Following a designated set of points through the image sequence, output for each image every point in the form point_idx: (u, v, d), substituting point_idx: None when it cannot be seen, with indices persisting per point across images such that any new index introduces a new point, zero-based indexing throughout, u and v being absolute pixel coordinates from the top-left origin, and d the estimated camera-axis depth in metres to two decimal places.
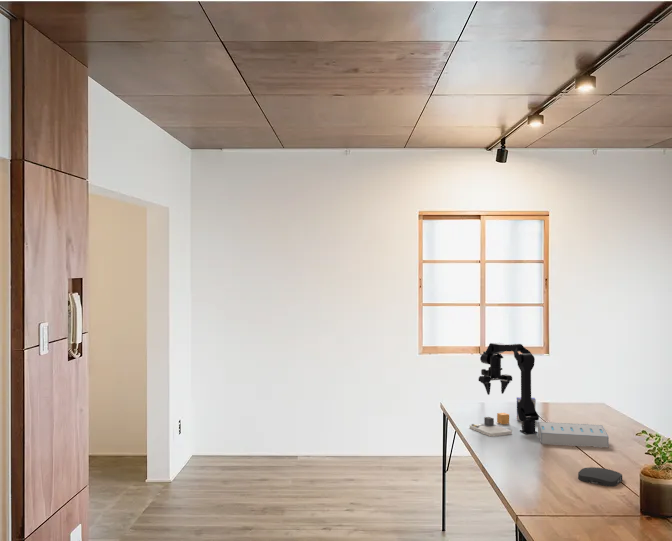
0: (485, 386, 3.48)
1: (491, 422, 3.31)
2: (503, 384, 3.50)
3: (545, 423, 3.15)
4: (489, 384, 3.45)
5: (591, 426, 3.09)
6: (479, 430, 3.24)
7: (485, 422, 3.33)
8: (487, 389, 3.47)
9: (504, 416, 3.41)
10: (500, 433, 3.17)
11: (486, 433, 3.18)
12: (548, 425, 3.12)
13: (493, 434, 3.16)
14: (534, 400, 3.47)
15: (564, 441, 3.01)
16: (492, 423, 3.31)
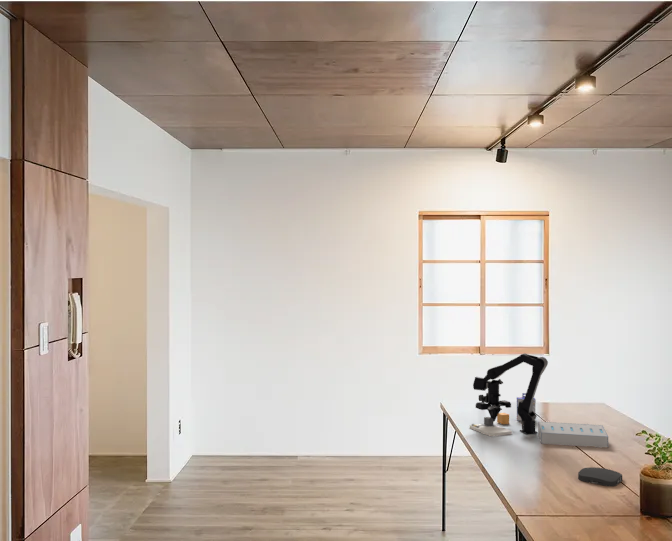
0: (489, 412, 3.34)
1: (491, 422, 3.31)
2: (495, 412, 3.33)
3: (545, 423, 3.15)
4: (494, 411, 3.31)
5: (591, 426, 3.09)
6: (479, 430, 3.24)
7: (485, 422, 3.33)
8: (491, 416, 3.33)
9: (504, 416, 3.41)
10: (500, 433, 3.17)
11: (486, 433, 3.18)
12: (548, 425, 3.12)
13: (493, 434, 3.16)
14: (534, 400, 3.47)
15: (564, 440, 3.01)
16: (492, 423, 3.31)
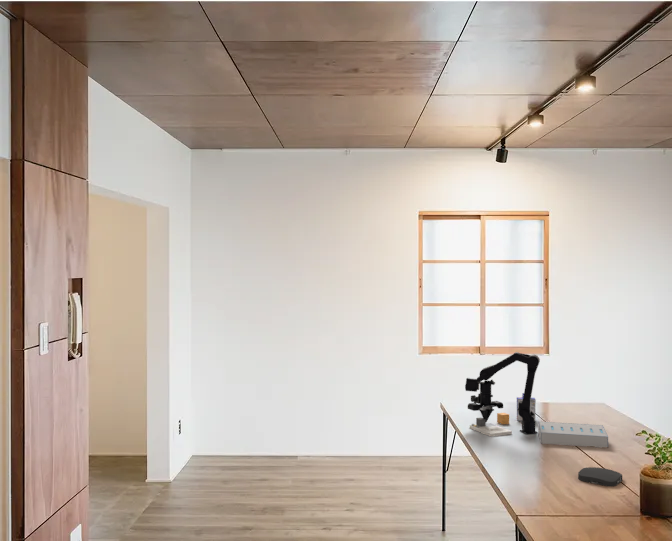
0: (482, 413, 3.32)
1: (483, 423, 3.29)
2: None
3: (545, 423, 3.15)
4: (486, 411, 3.29)
5: (591, 426, 3.09)
6: (479, 430, 3.24)
7: (477, 423, 3.31)
8: (484, 416, 3.31)
9: (504, 416, 3.41)
10: (500, 433, 3.17)
11: (486, 433, 3.18)
12: (548, 425, 3.12)
13: (493, 434, 3.16)
14: (534, 400, 3.47)
15: (564, 440, 3.01)
16: (484, 424, 3.29)
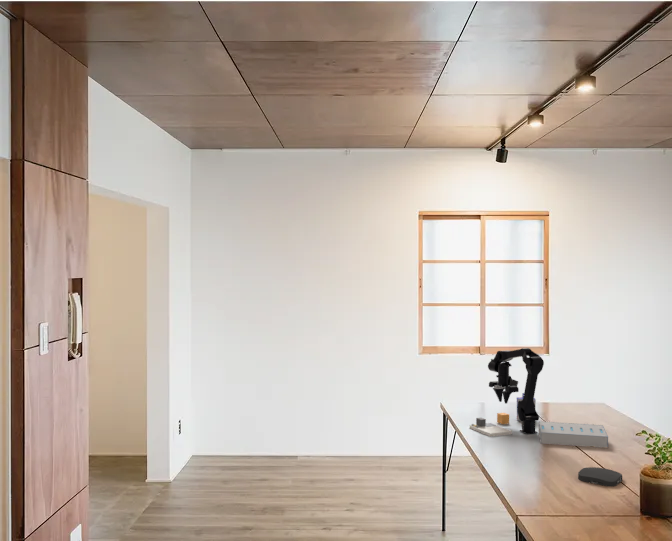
0: None
1: (483, 423, 3.29)
2: None
3: (545, 422, 3.15)
4: (495, 390, 3.46)
5: (591, 426, 3.09)
6: (479, 430, 3.24)
7: (477, 423, 3.31)
8: None
9: (504, 416, 3.41)
10: (500, 433, 3.17)
11: (486, 433, 3.18)
12: (548, 425, 3.12)
13: (493, 434, 3.16)
14: (534, 400, 3.47)
15: (564, 440, 3.01)
16: (484, 424, 3.29)
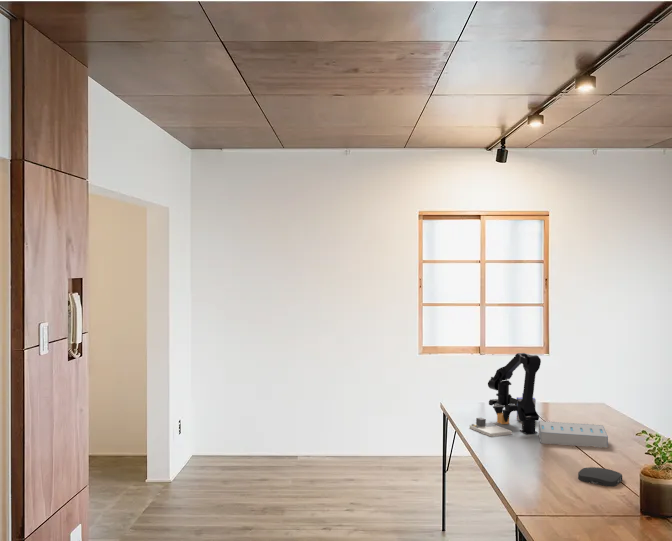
0: None
1: (483, 423, 3.29)
2: None
3: (545, 422, 3.15)
4: (494, 408, 3.46)
5: (592, 426, 3.09)
6: (479, 430, 3.24)
7: (477, 423, 3.31)
8: None
9: None
10: (500, 433, 3.17)
11: (486, 433, 3.18)
12: (548, 425, 3.13)
13: (493, 434, 3.16)
14: (534, 400, 3.47)
15: (563, 440, 3.01)
16: (484, 424, 3.29)
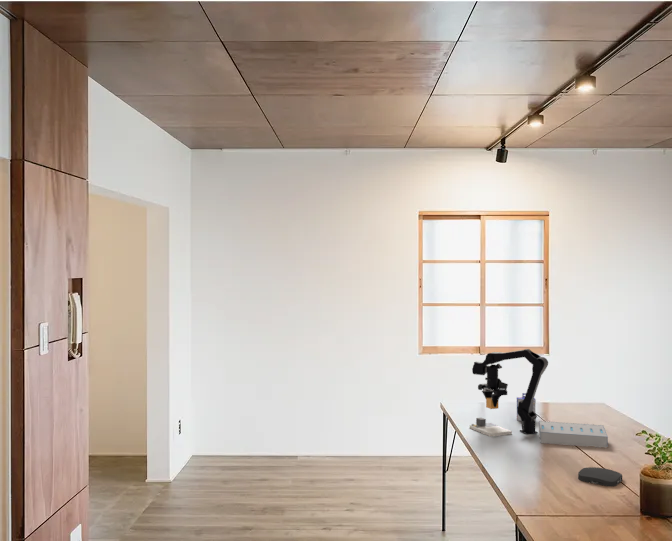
0: None
1: (483, 423, 3.29)
2: None
3: (545, 422, 3.16)
4: (483, 393, 3.38)
5: (592, 426, 3.09)
6: (479, 430, 3.24)
7: (477, 423, 3.31)
8: None
9: None
10: (500, 433, 3.17)
11: (486, 433, 3.18)
12: (548, 424, 3.13)
13: (493, 434, 3.16)
14: (534, 400, 3.47)
15: (563, 440, 3.02)
16: (484, 424, 3.29)
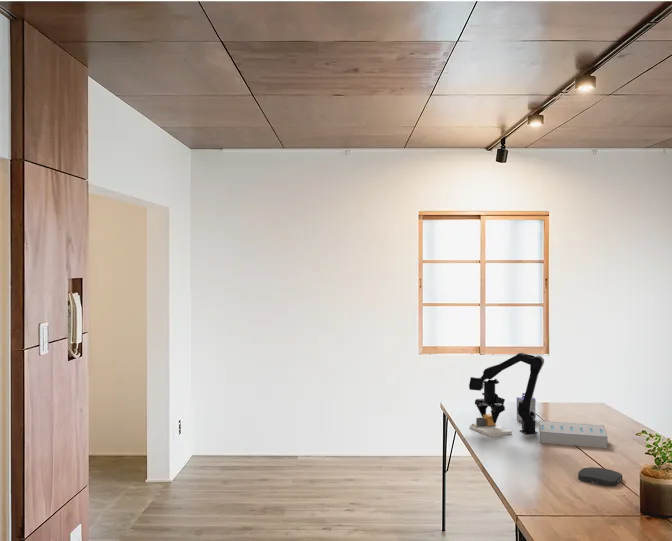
0: None
1: (483, 423, 3.29)
2: None
3: (546, 422, 3.16)
4: (478, 407, 3.37)
5: (592, 426, 3.09)
6: (479, 430, 3.24)
7: (477, 423, 3.31)
8: None
9: (490, 417, 3.30)
10: (500, 433, 3.17)
11: (486, 433, 3.18)
12: (548, 424, 3.13)
13: (493, 434, 3.16)
14: (534, 400, 3.47)
15: (563, 440, 3.02)
16: (484, 424, 3.29)
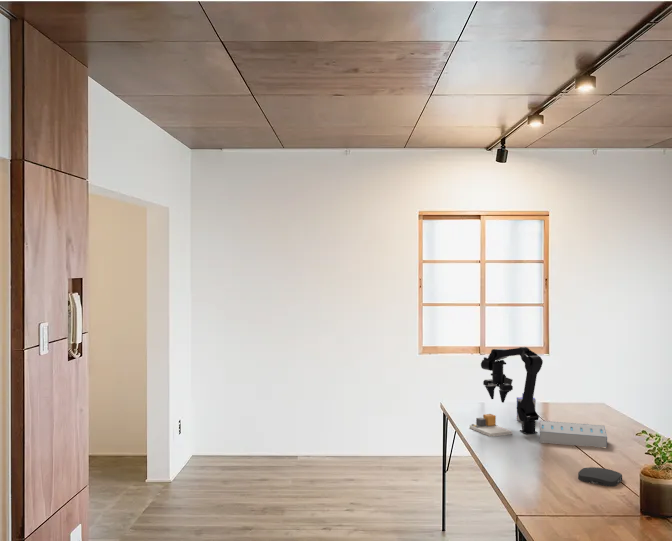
0: None
1: (483, 423, 3.29)
2: None
3: (546, 422, 3.17)
4: (486, 387, 3.48)
5: (592, 426, 3.09)
6: (479, 430, 3.24)
7: (477, 423, 3.31)
8: None
9: (490, 417, 3.30)
10: (500, 433, 3.17)
11: (486, 433, 3.18)
12: (548, 424, 3.14)
13: (493, 434, 3.16)
14: (534, 400, 3.47)
15: (562, 440, 3.02)
16: (484, 424, 3.29)
